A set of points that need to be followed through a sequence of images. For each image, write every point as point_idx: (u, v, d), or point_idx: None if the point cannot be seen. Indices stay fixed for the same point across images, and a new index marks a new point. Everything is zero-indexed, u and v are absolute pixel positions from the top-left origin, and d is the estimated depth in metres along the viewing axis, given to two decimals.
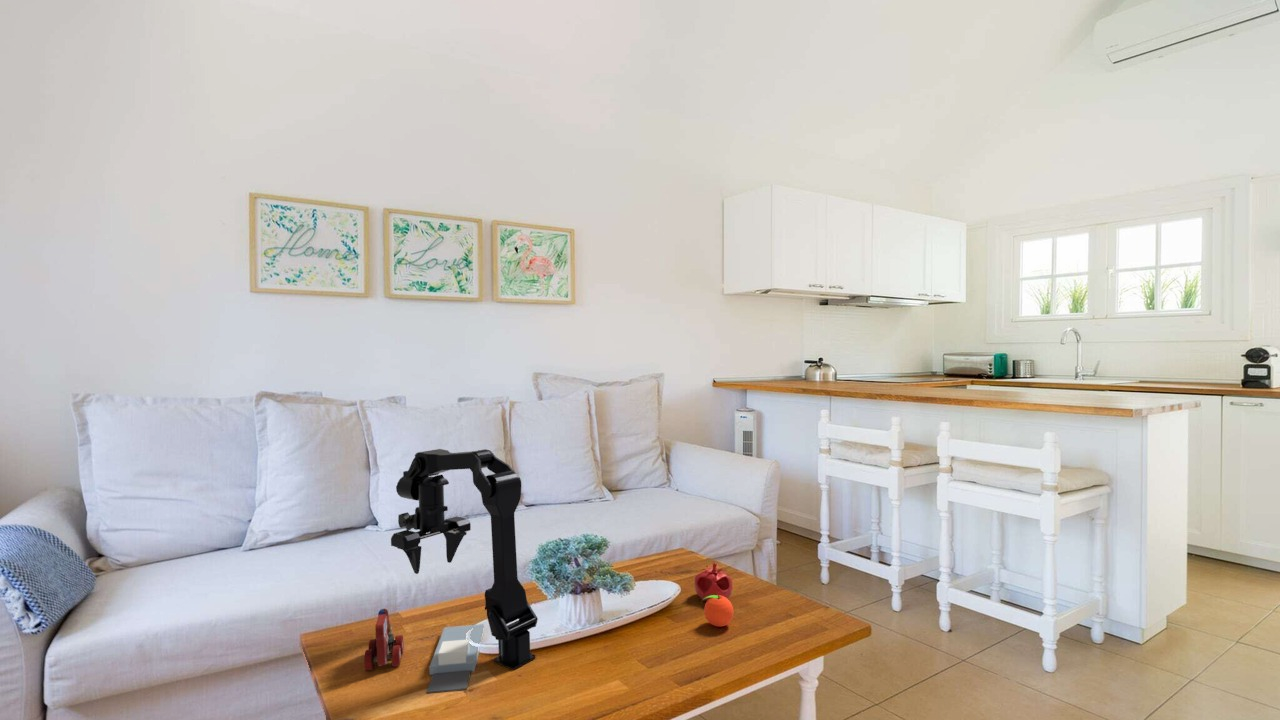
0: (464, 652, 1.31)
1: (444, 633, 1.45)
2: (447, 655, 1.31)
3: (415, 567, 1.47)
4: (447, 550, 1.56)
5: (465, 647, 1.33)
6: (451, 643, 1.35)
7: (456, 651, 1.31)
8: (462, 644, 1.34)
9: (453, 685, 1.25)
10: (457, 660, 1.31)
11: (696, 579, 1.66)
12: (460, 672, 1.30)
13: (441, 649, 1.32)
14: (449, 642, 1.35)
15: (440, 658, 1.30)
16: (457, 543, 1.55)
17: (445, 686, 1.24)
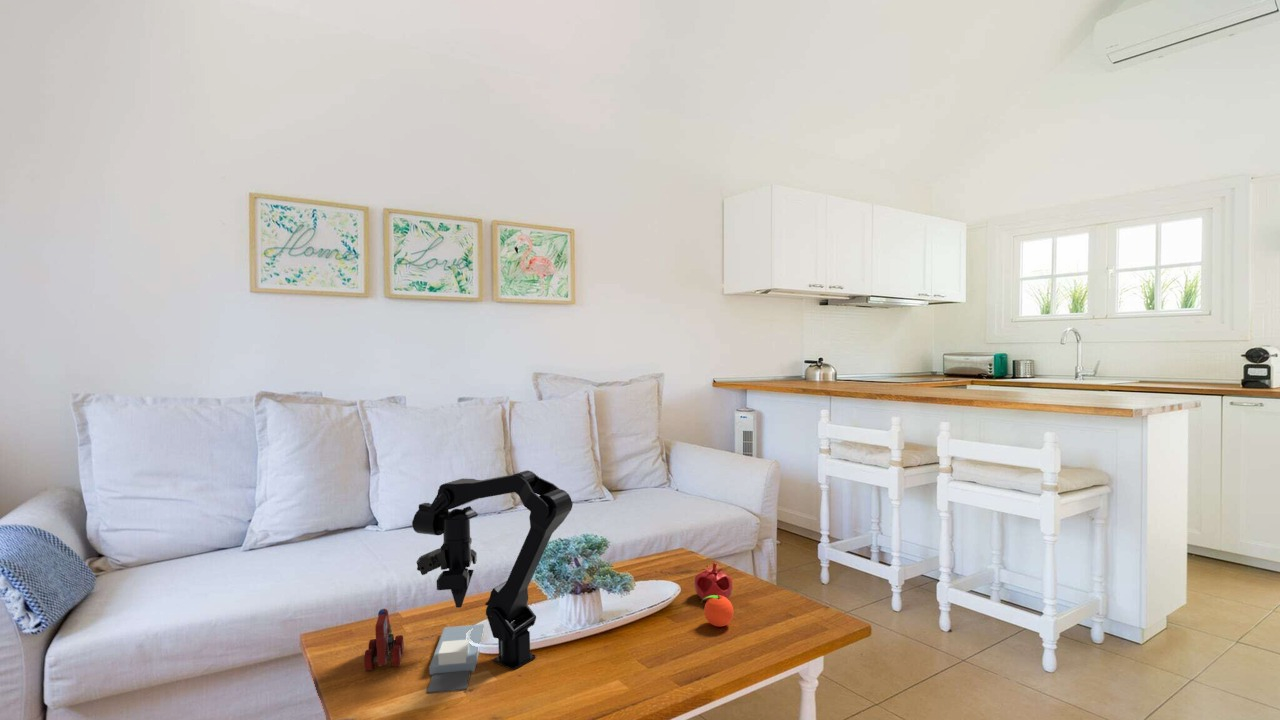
0: (464, 652, 1.31)
1: (444, 633, 1.45)
2: (447, 655, 1.31)
3: (461, 600, 1.40)
4: None
5: (465, 647, 1.33)
6: (451, 643, 1.35)
7: (456, 651, 1.31)
8: (462, 644, 1.34)
9: (453, 685, 1.25)
10: (457, 660, 1.31)
11: (696, 579, 1.66)
12: (460, 672, 1.30)
13: (441, 649, 1.32)
14: (449, 642, 1.35)
15: (440, 658, 1.30)
16: None
17: (445, 686, 1.24)
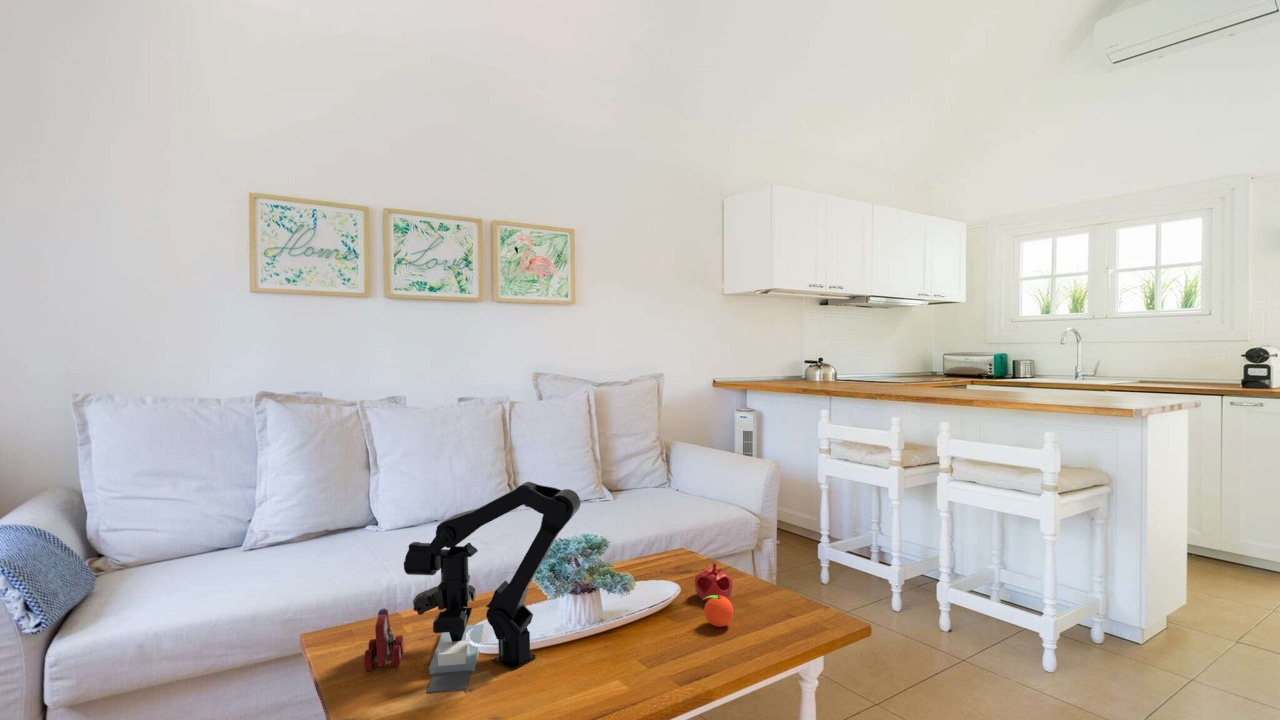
0: (463, 653, 1.31)
1: (444, 633, 1.45)
2: (447, 656, 1.30)
3: (459, 640, 1.36)
4: None
5: (464, 648, 1.32)
6: (451, 644, 1.34)
7: (455, 652, 1.31)
8: (462, 645, 1.34)
9: (453, 685, 1.25)
10: (456, 661, 1.30)
11: (696, 579, 1.66)
12: (460, 672, 1.30)
13: (440, 650, 1.32)
14: (449, 643, 1.35)
15: (439, 659, 1.30)
16: None
17: (445, 686, 1.24)
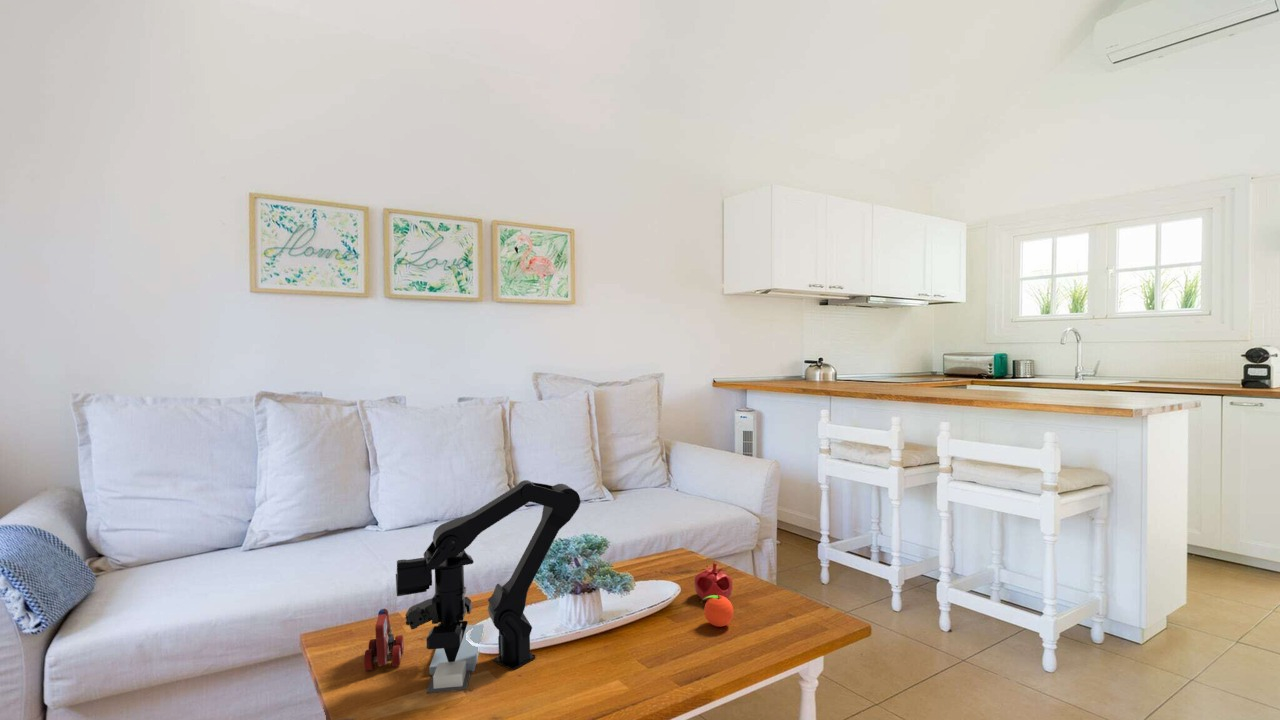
0: (460, 675, 1.24)
1: None
2: (443, 678, 1.24)
3: (454, 656, 1.29)
4: None
5: (461, 669, 1.26)
6: (447, 665, 1.28)
7: (452, 674, 1.24)
8: (459, 665, 1.28)
9: None
10: (453, 683, 1.24)
11: (696, 579, 1.66)
12: None
13: (436, 671, 1.25)
14: (445, 664, 1.28)
15: (435, 681, 1.24)
16: None
17: None
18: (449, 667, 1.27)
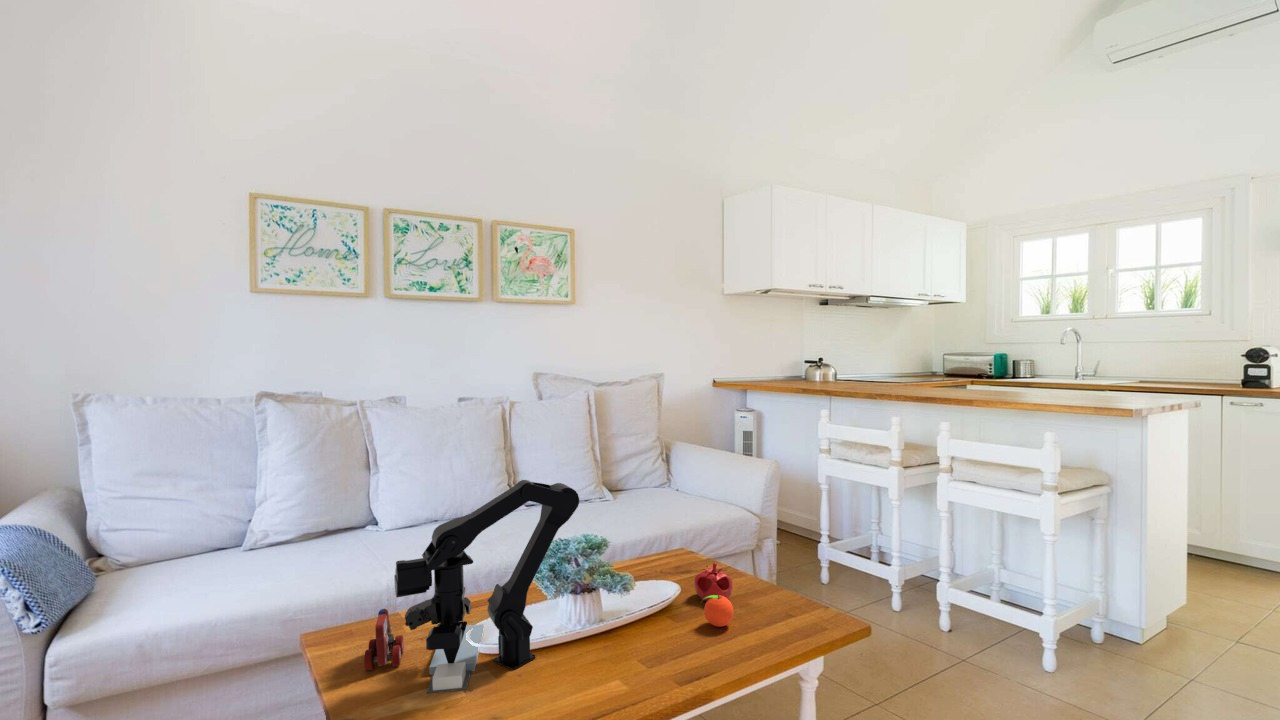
0: (460, 677, 1.24)
1: None
2: (442, 679, 1.23)
3: (453, 656, 1.29)
4: None
5: (461, 671, 1.25)
6: (447, 666, 1.27)
7: (451, 675, 1.24)
8: (458, 667, 1.27)
9: None
10: (452, 685, 1.24)
11: (696, 579, 1.66)
12: None
13: (436, 673, 1.25)
14: (444, 665, 1.28)
15: (434, 683, 1.23)
16: None
17: None
18: (448, 669, 1.26)
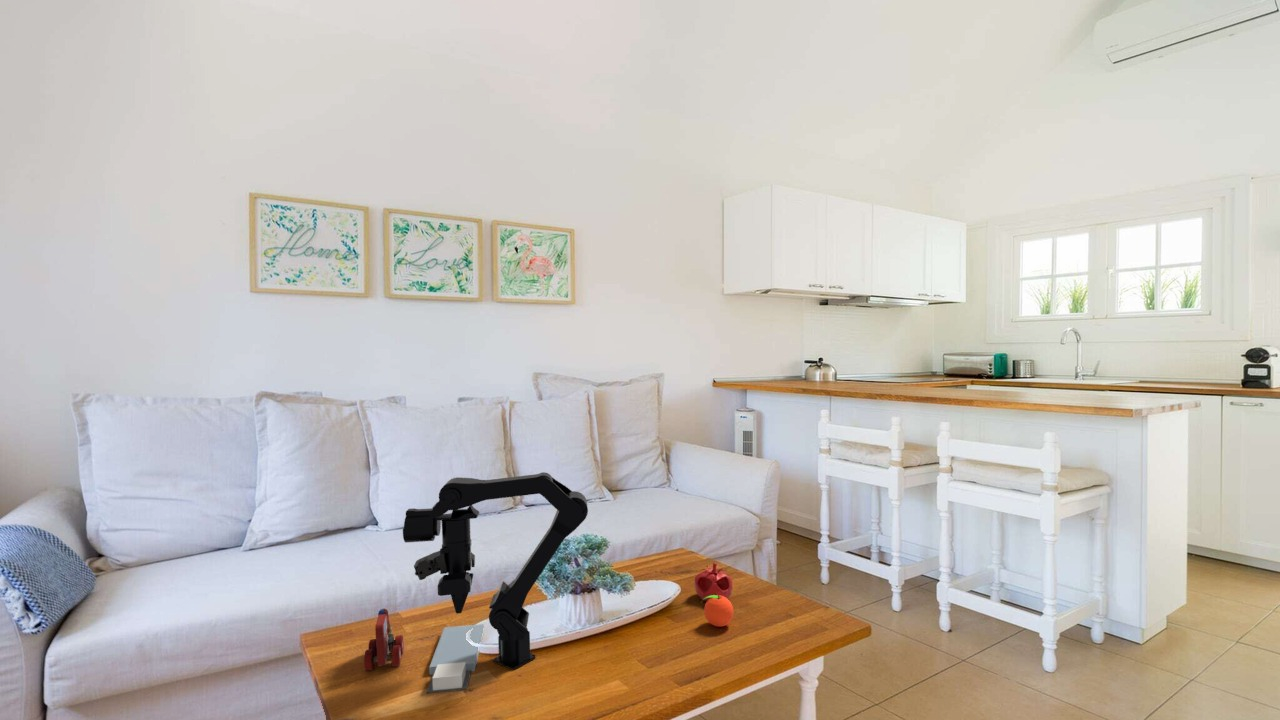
0: (460, 677, 1.24)
1: (444, 633, 1.45)
2: (442, 679, 1.23)
3: (461, 606, 1.33)
4: None
5: (461, 671, 1.25)
6: (447, 666, 1.27)
7: (451, 675, 1.24)
8: (458, 667, 1.27)
9: None
10: (452, 685, 1.24)
11: (696, 579, 1.66)
12: None
13: (436, 673, 1.25)
14: (444, 665, 1.28)
15: (434, 683, 1.23)
16: None
17: None
18: (448, 669, 1.26)
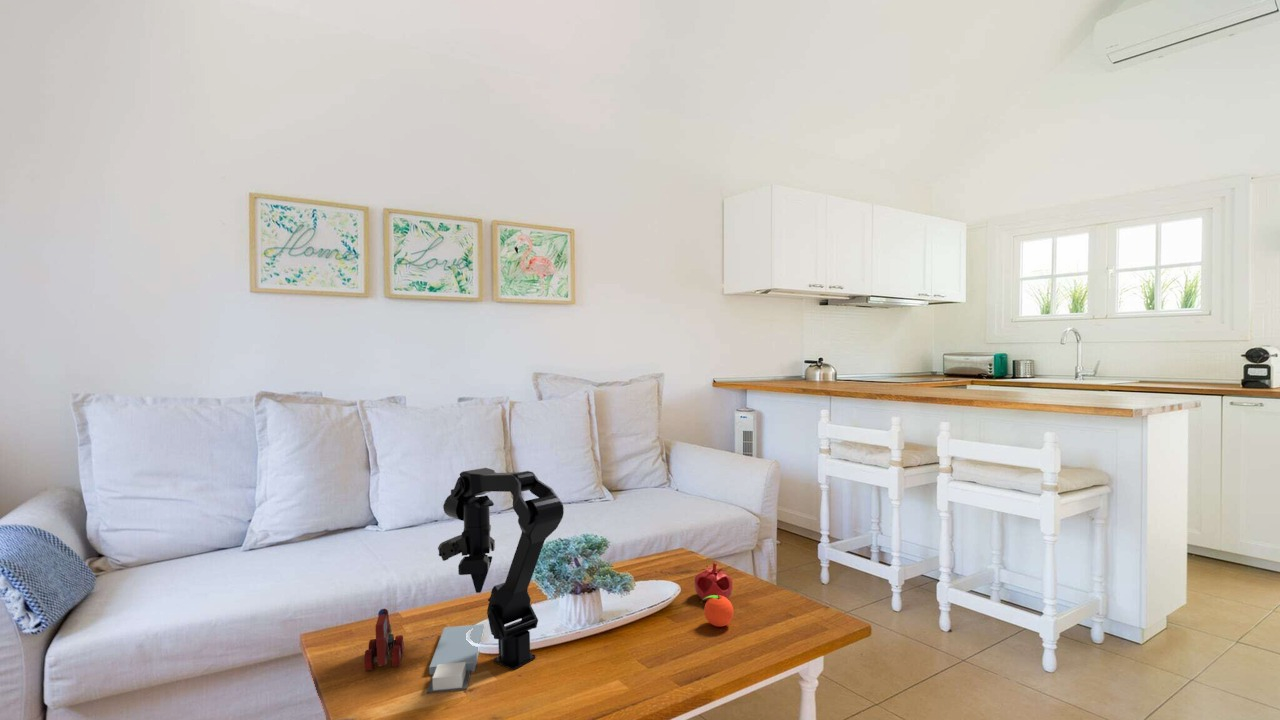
0: (460, 677, 1.24)
1: (444, 633, 1.45)
2: (442, 679, 1.23)
3: (480, 585, 1.44)
4: None
5: (461, 671, 1.25)
6: (447, 666, 1.27)
7: (451, 675, 1.24)
8: (458, 667, 1.27)
9: None
10: (452, 685, 1.24)
11: (696, 579, 1.66)
12: None
13: (436, 673, 1.25)
14: (444, 665, 1.28)
15: (434, 683, 1.23)
16: None
17: None
18: (448, 669, 1.26)
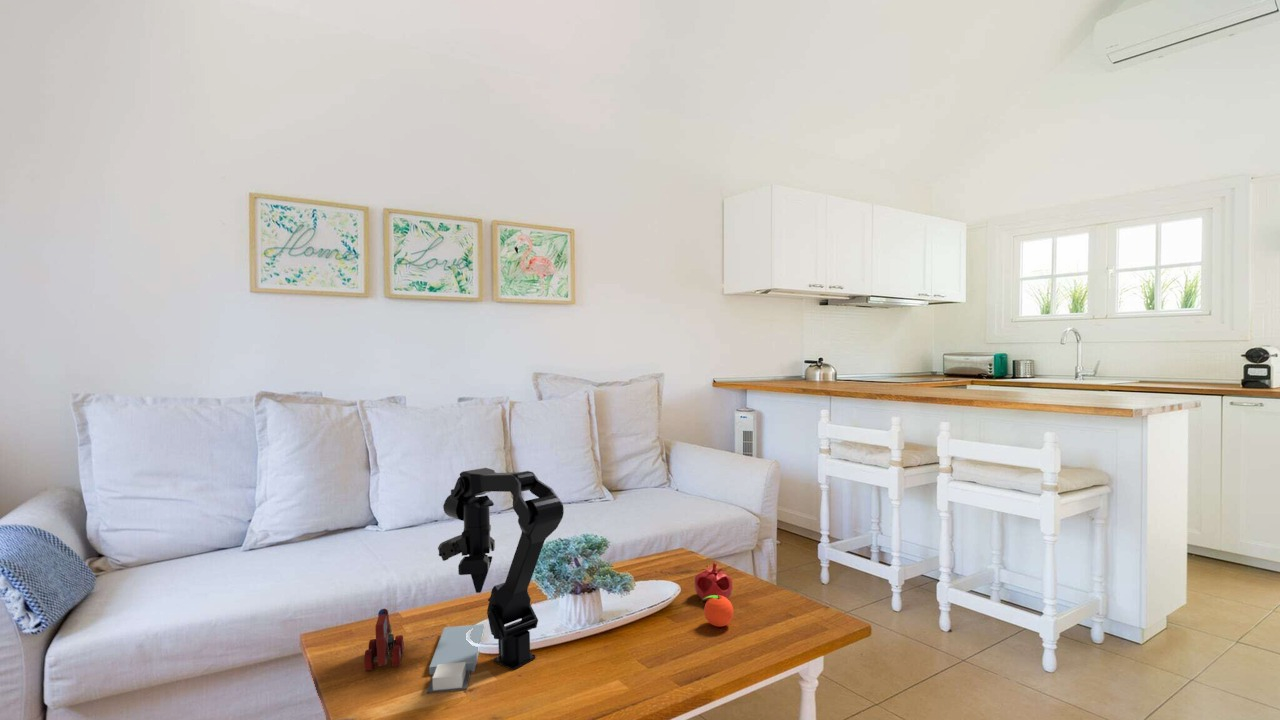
0: (460, 677, 1.24)
1: (444, 633, 1.45)
2: (442, 679, 1.23)
3: (480, 585, 1.44)
4: None
5: (461, 671, 1.25)
6: (447, 666, 1.27)
7: (451, 675, 1.24)
8: (458, 667, 1.27)
9: None
10: (452, 685, 1.24)
11: (696, 579, 1.66)
12: None
13: (436, 673, 1.25)
14: (444, 665, 1.28)
15: (434, 683, 1.23)
16: None
17: None
18: (448, 669, 1.26)
